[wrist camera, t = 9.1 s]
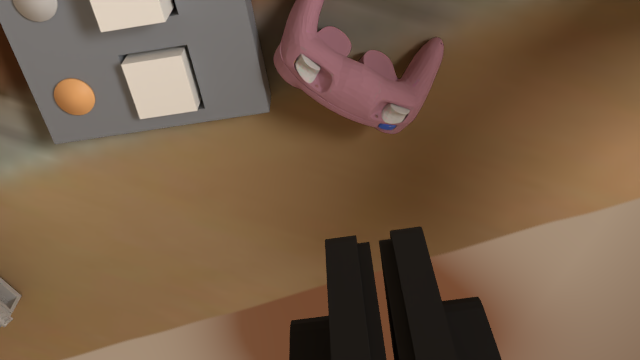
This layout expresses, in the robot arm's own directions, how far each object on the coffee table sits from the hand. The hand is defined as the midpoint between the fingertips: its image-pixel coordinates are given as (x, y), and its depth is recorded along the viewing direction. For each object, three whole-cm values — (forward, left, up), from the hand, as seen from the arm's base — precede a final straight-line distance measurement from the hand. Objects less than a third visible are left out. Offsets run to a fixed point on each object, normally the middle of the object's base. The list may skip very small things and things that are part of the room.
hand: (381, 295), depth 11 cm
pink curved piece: (-1, +6, -29) cm, 30 cm away
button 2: (+11, +6, -28) cm, 31 cm away
